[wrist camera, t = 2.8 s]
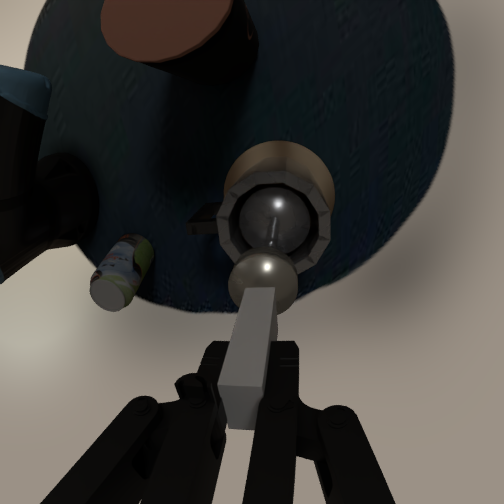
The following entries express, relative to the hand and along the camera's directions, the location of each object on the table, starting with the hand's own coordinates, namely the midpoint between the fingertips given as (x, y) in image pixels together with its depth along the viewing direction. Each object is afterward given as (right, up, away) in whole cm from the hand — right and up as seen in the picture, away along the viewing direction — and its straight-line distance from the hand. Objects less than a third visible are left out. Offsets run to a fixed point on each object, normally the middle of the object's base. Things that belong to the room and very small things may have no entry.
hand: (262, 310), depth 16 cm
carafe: (+1, +10, +23) cm, 25 cm away
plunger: (+2, +6, +14) cm, 15 cm away
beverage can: (-17, +3, +29) cm, 34 cm away
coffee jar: (-5, +28, +16) cm, 33 cm away
